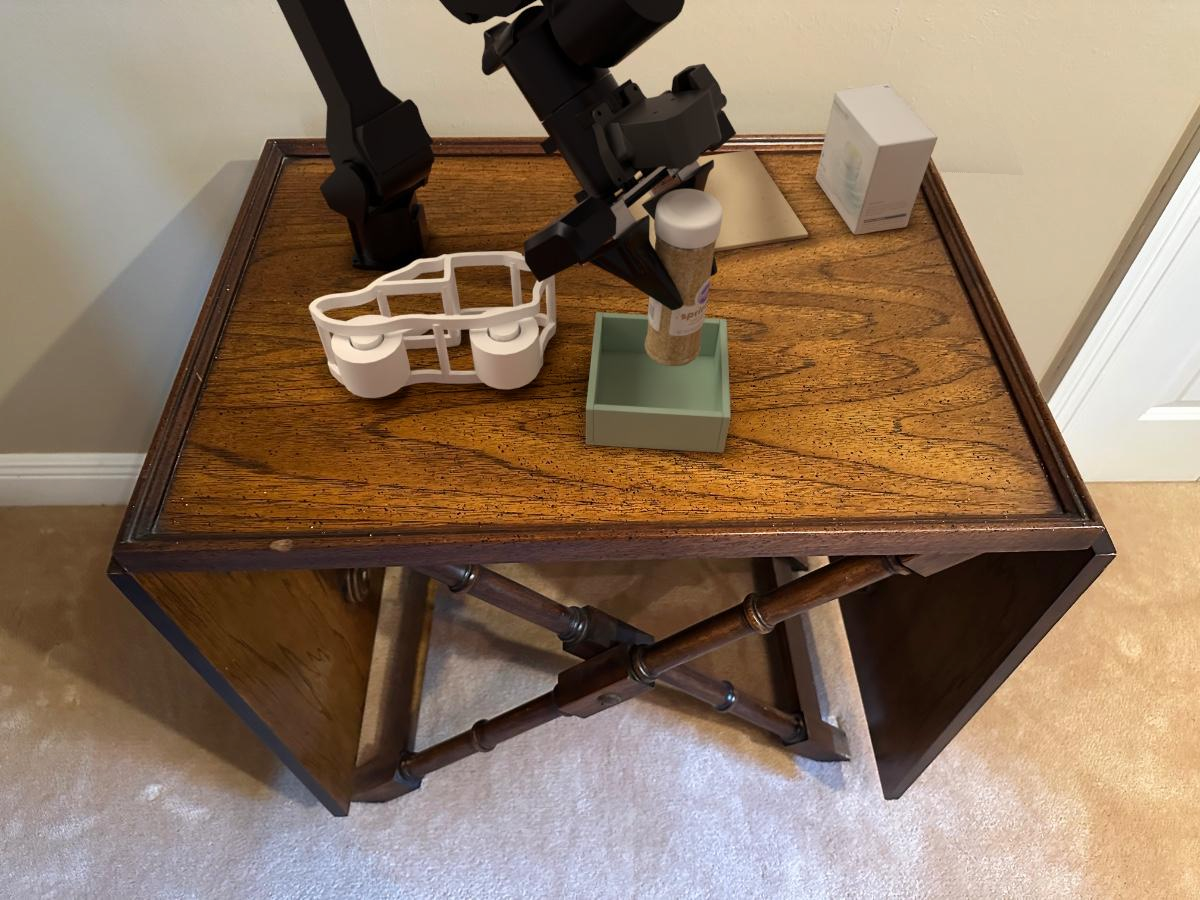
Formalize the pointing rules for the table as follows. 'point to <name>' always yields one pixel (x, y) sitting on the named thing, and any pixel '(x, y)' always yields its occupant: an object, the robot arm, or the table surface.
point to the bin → (656, 390)
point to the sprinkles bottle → (683, 273)
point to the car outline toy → (436, 330)
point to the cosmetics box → (874, 157)
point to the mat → (741, 203)
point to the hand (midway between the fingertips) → (695, 291)
